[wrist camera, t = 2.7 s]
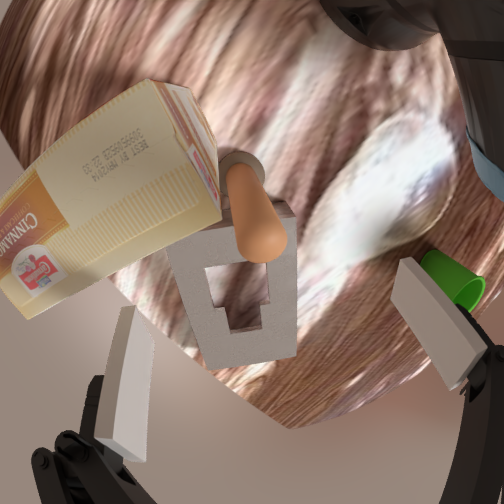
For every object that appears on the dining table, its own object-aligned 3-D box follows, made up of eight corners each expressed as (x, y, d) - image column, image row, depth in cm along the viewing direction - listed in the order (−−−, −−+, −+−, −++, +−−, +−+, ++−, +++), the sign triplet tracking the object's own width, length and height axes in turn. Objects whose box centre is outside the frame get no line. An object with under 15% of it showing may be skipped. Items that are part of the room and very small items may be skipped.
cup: (445, 270, 44) (478, 307, 35) (409, 289, 45) (441, 331, 36) (450, 231, 39) (490, 268, 30) (411, 250, 40) (450, 293, 31)
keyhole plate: (167, 219, 32) (162, 237, 28) (285, 201, 33) (296, 216, 29) (207, 349, 45) (208, 370, 41) (289, 335, 46) (296, 356, 42)
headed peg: (212, 155, 29) (214, 210, 16) (260, 148, 29) (301, 198, 17) (219, 199, 32) (227, 281, 19) (264, 192, 32) (302, 268, 19)
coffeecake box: (190, 85, 24) (150, 70, 8) (218, 143, 28) (230, 224, 12) (76, 156, 26) (-37, 242, 10) (106, 205, 30) (28, 325, 13)
